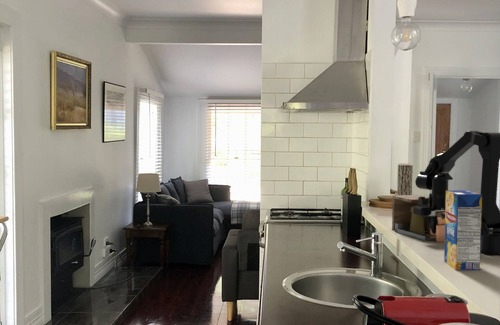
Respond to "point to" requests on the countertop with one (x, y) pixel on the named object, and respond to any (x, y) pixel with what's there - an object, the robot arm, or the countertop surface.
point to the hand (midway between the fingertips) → (438, 233)
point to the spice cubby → (406, 210)
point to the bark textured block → (404, 179)
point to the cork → (417, 222)
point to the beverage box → (463, 229)
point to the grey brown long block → (438, 235)
